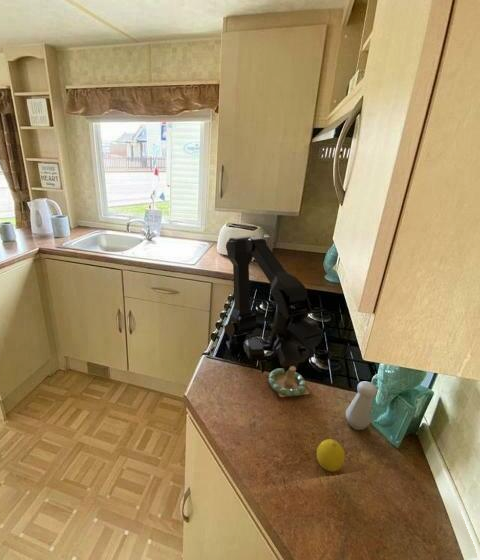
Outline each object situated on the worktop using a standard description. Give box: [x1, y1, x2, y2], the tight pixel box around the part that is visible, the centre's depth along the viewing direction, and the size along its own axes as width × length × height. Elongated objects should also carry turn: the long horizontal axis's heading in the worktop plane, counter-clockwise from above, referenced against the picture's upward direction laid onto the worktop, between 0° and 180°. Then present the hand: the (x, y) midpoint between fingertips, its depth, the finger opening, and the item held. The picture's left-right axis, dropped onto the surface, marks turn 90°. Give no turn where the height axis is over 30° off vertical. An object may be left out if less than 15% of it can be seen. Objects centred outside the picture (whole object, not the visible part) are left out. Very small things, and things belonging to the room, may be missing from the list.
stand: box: [275, 366, 311, 398], centre depth 92 cm, size 9×9×7 cm
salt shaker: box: [345, 380, 378, 431], centre depth 79 cm, size 6×6×13 cm
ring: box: [268, 367, 307, 397], centre depth 93 cm, size 11×11×2 cm
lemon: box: [316, 438, 346, 473], centre depth 69 cm, size 6×6×8 cm
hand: (273, 371), depth 90 cm, fingers open, 7 cm apart
